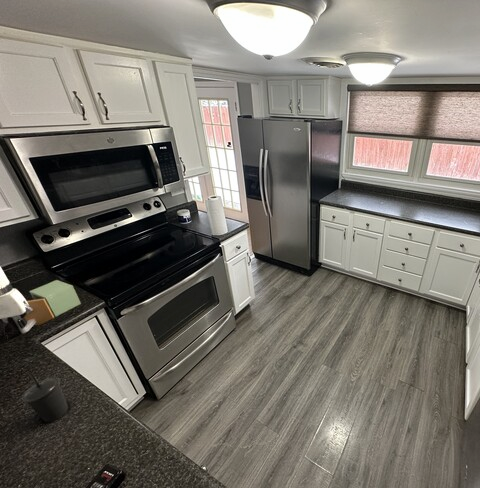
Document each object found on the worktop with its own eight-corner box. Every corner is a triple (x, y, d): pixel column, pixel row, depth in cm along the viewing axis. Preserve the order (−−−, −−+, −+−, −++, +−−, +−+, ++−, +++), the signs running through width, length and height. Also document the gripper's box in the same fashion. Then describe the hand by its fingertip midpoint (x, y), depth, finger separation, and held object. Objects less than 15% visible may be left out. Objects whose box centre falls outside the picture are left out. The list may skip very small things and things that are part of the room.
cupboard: (57, 321, 119) (45, 297, 113) (41, 314, 123) (29, 291, 117) (82, 307, 127) (72, 285, 122) (67, 301, 131) (56, 279, 125)
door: (47, 333, 112) (33, 309, 107) (9, 339, 108) (-6, 315, 103) (56, 321, 119) (44, 298, 113) (21, 327, 115) (7, 303, 109)
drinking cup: (73, 424, 80) (44, 377, 72) (39, 438, 76) (4, 390, 68) (79, 403, 86) (53, 358, 78) (48, 415, 82) (17, 369, 74)
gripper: (-40, 301, 93) (-13, 339, 101) (20, 290, 100) (41, 327, 108) (-27, 289, 100) (-2, 326, 108) (30, 280, 106) (49, 316, 114)
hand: (20, 326), depth 108 cm, fingers closed on door, 2 cm apart
